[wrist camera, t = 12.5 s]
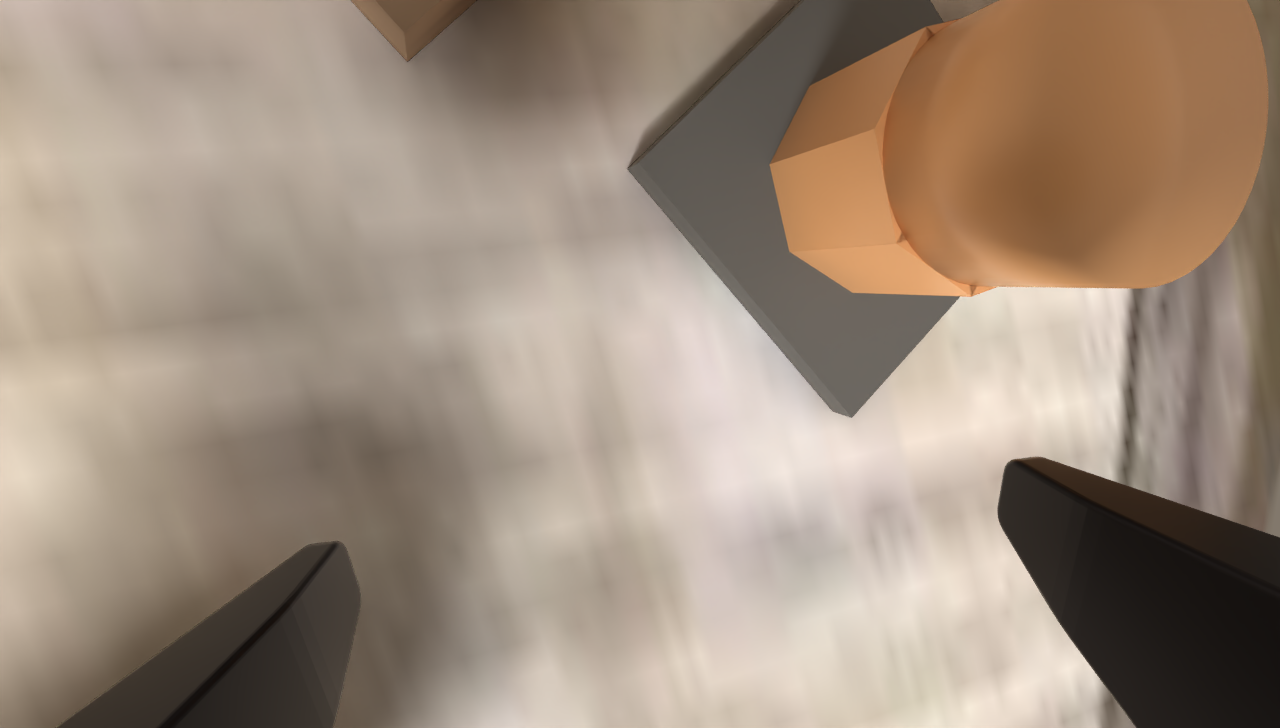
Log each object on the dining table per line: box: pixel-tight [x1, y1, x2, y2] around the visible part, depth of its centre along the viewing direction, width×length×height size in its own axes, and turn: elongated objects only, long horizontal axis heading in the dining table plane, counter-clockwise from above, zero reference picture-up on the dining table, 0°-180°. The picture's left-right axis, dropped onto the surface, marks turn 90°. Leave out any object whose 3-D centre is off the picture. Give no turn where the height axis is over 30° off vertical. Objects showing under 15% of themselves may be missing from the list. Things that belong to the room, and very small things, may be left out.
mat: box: [628, 0, 960, 418], centre depth 19 cm, size 10×10×1 cm
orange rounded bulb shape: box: [769, 0, 1268, 297], centre depth 15 cm, size 6×6×8 cm
